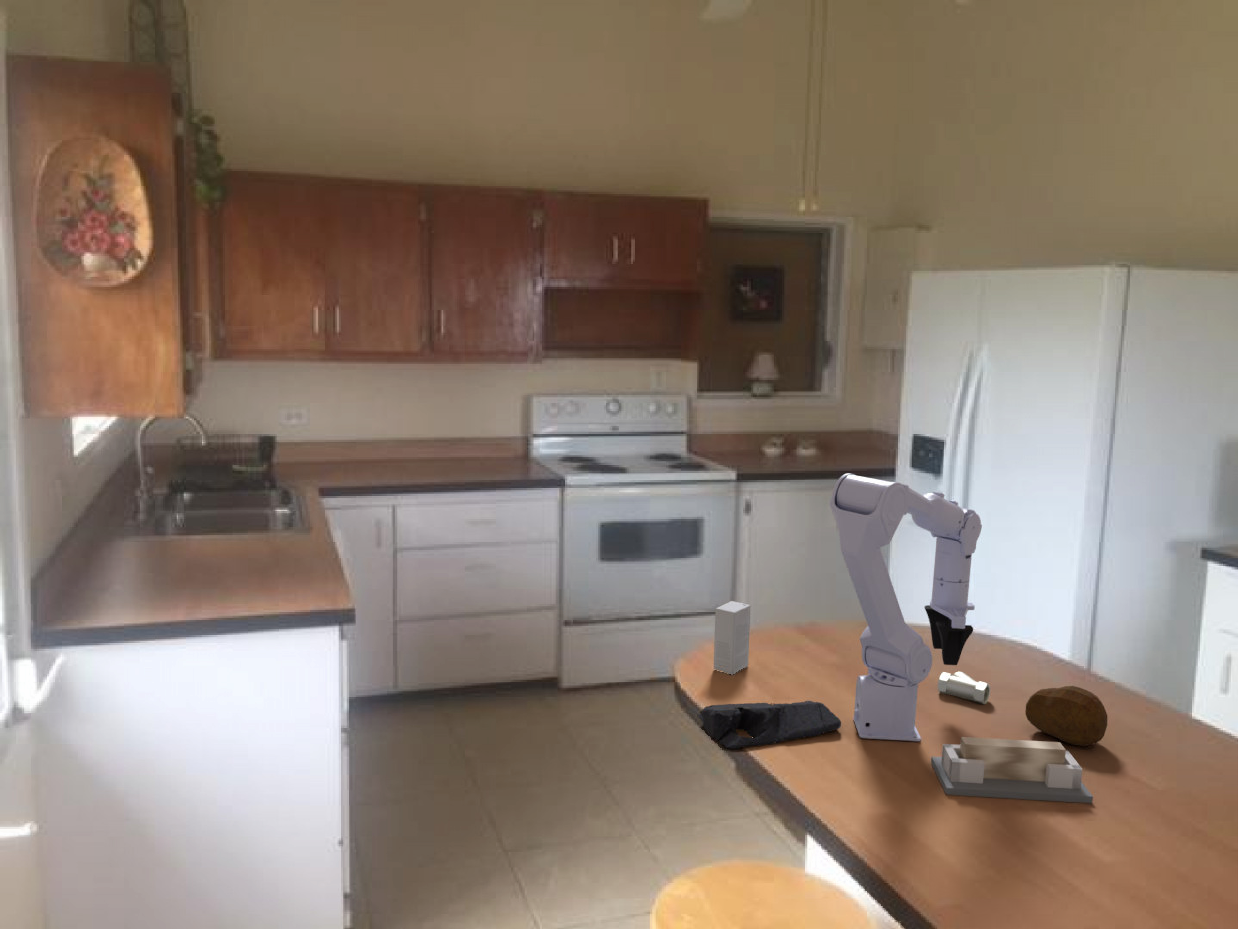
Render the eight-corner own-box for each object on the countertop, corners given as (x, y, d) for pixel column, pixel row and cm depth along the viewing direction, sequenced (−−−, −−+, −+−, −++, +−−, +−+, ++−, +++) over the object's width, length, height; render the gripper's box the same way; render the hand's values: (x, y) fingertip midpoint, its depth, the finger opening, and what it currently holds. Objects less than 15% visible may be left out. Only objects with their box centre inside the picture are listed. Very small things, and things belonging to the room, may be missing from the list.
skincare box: (728, 661, 199) (731, 600, 197) (748, 666, 196) (751, 604, 194) (712, 670, 194) (714, 607, 192) (732, 676, 191) (735, 612, 189)
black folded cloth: (853, 743, 166) (854, 714, 165) (720, 754, 161) (721, 725, 160) (812, 704, 180) (814, 678, 180) (689, 714, 175) (690, 687, 174)
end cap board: (946, 794, 149) (948, 768, 148) (930, 762, 159) (932, 737, 158) (1092, 803, 147) (1095, 776, 147) (1067, 770, 157) (1070, 745, 156)
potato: (1051, 719, 176) (1056, 669, 174) (1118, 746, 166) (1124, 694, 164) (1019, 730, 171) (1024, 679, 170) (1085, 758, 161) (1091, 704, 160)
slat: (962, 776, 152) (965, 744, 151) (958, 769, 154) (961, 736, 154) (1062, 782, 151) (1065, 750, 150) (1056, 774, 153) (1060, 742, 153)
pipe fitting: (950, 687, 190) (936, 695, 185) (953, 666, 190) (939, 673, 185) (995, 699, 186) (981, 707, 180) (997, 677, 185) (984, 685, 180)
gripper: (987, 591, 167) (980, 673, 170) (965, 567, 182) (958, 642, 184) (942, 589, 168) (935, 671, 170) (923, 565, 182) (917, 640, 184)
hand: (944, 656), depth 177 cm, fingers open, 7 cm apart
